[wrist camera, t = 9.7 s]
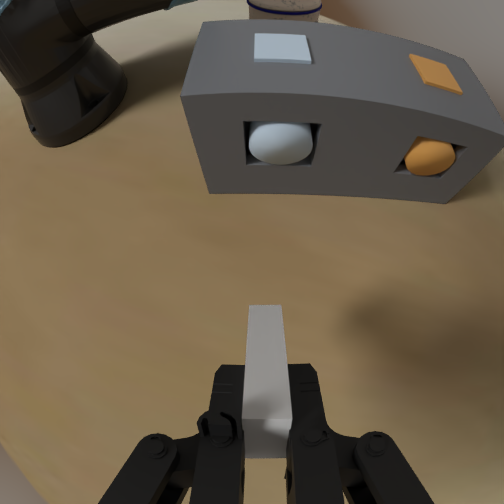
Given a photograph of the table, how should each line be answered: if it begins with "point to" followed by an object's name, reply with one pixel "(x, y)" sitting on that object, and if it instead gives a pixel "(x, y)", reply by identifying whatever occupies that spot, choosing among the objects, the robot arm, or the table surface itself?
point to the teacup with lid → (285, 10)
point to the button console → (334, 109)
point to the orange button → (429, 156)
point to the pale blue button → (280, 141)
